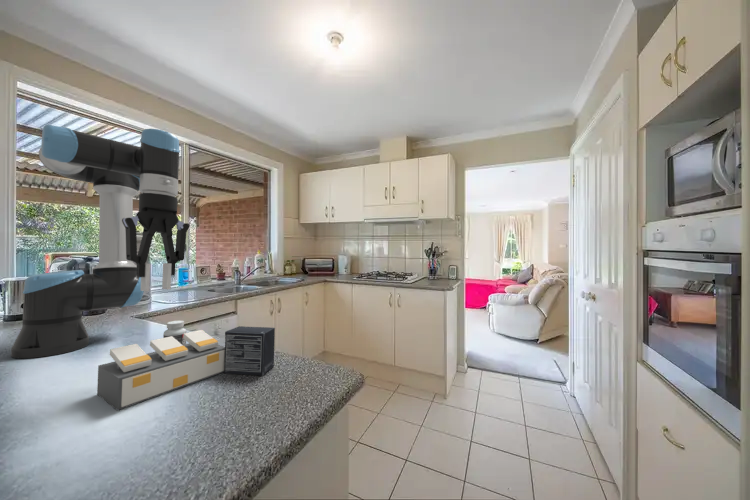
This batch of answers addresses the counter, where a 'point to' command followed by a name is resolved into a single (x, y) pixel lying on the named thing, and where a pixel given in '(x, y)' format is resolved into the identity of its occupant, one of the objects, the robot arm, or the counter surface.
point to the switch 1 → (130, 357)
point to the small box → (249, 350)
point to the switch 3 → (200, 340)
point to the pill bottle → (176, 331)
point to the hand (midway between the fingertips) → (155, 289)
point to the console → (157, 376)
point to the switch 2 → (168, 348)
